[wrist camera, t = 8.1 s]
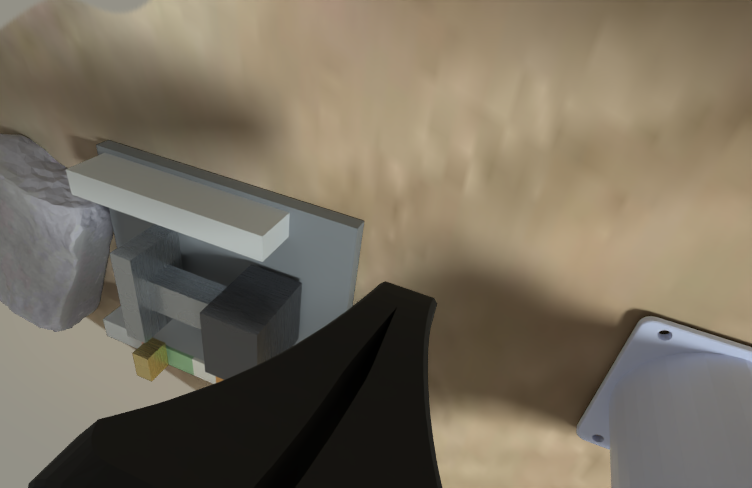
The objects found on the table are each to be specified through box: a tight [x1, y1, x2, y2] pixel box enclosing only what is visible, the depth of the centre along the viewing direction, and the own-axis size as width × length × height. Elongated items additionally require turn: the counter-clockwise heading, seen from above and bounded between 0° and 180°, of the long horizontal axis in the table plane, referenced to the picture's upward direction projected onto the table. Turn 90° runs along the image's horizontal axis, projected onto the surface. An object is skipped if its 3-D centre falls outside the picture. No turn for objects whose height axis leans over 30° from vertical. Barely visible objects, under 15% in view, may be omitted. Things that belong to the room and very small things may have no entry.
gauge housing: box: [66, 140, 364, 384], centre depth 27 cm, size 15×12×3 cm
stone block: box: [0, 134, 114, 332], centre depth 31 cm, size 12×5×10 cm
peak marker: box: [132, 337, 169, 381], centre depth 28 cm, size 1×2×1 cm, turn 172°
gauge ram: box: [110, 224, 302, 383], centre depth 26 cm, size 9×7×4 cm
